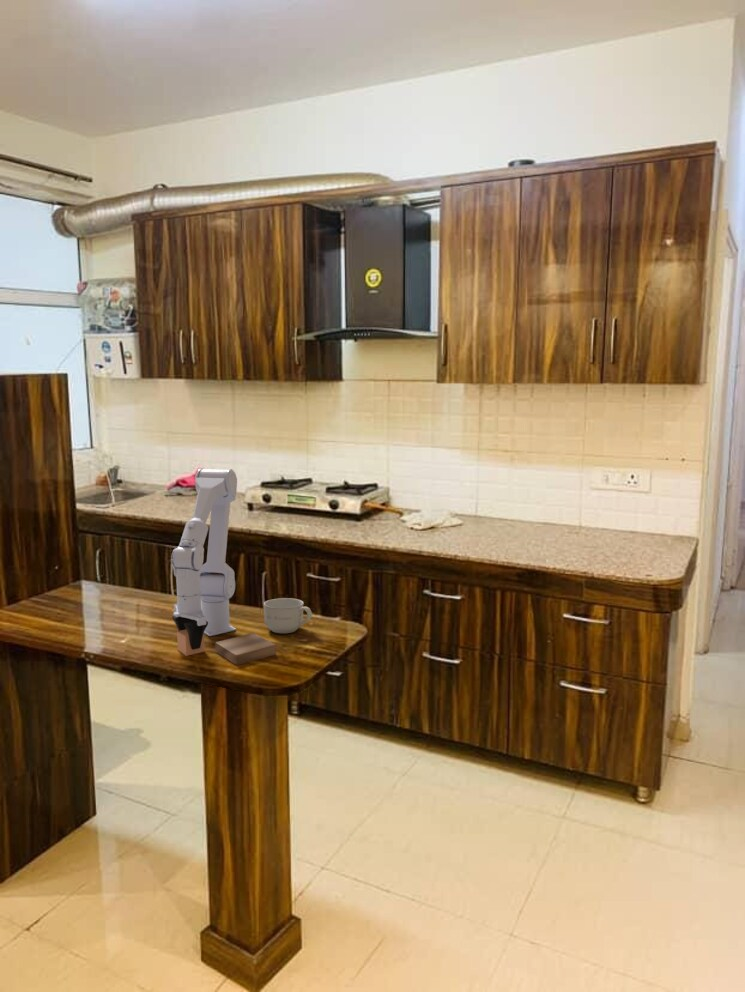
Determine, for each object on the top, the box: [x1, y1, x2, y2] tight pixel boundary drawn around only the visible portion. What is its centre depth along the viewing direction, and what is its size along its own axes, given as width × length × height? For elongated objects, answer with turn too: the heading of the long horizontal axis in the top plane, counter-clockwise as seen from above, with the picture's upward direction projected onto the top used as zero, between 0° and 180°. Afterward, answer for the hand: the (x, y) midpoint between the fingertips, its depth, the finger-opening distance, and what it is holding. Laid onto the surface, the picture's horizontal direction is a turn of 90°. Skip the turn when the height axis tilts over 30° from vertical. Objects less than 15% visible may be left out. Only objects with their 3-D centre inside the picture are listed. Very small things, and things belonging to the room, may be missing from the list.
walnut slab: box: [214, 632, 277, 666], centre depth 190 cm, size 11×11×3 cm
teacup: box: [263, 597, 313, 634], centre depth 205 cm, size 14×11×8 cm
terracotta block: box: [176, 629, 206, 657], centre depth 191 cm, size 5×5×5 cm
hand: (191, 645), depth 191 cm, fingers closed on terracotta block, 5 cm apart
